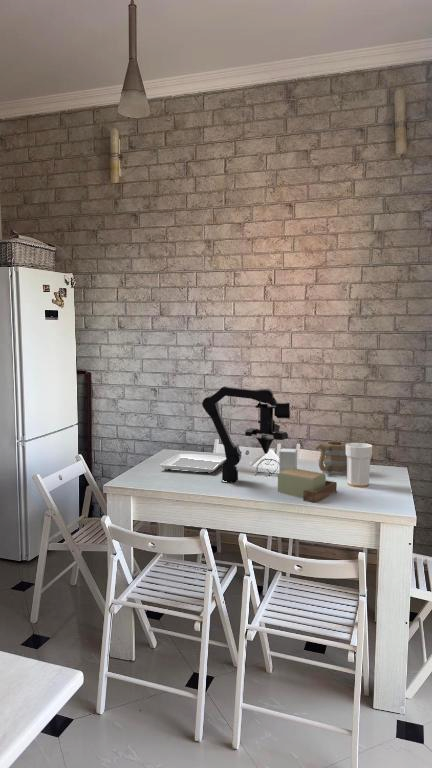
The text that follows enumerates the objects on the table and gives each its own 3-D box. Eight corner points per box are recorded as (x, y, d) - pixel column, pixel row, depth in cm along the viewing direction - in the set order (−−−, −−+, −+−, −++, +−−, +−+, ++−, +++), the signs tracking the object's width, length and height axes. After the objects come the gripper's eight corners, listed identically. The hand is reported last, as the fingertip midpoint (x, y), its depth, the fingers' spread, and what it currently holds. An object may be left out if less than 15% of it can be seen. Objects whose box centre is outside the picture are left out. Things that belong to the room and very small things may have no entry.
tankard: (336, 468, 274) (336, 437, 273) (355, 473, 263) (356, 441, 262) (305, 473, 263) (305, 441, 262) (324, 479, 253) (324, 446, 251)
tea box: (277, 492, 231) (278, 472, 230) (291, 487, 239) (291, 467, 239) (312, 499, 221) (312, 478, 220) (325, 493, 230) (325, 473, 229)
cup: (352, 488, 236) (353, 448, 235) (339, 482, 247) (340, 443, 246) (376, 486, 239) (377, 446, 238) (362, 480, 250) (363, 442, 249)
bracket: (303, 500, 219) (303, 490, 219) (324, 489, 235) (324, 480, 234) (315, 502, 216) (315, 492, 216) (336, 491, 232) (336, 482, 231)
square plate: (158, 472, 266) (158, 464, 266) (179, 460, 292) (179, 452, 292) (213, 476, 258) (213, 468, 258) (229, 463, 284) (229, 456, 284)
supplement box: (297, 475, 258) (297, 448, 257) (295, 479, 251) (295, 452, 250) (281, 474, 260) (281, 447, 259) (278, 478, 253) (279, 451, 252)
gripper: (294, 417, 244) (293, 453, 245) (257, 414, 255) (257, 448, 256) (281, 420, 235) (281, 457, 237) (244, 417, 246) (244, 452, 248)
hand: (265, 453), depth 245 cm, fingers closed
